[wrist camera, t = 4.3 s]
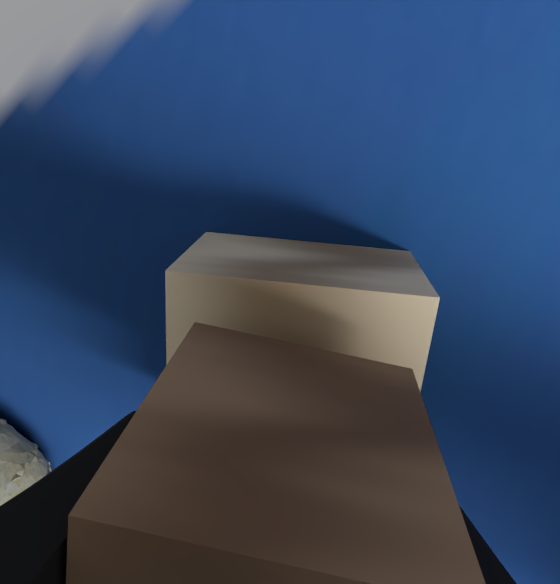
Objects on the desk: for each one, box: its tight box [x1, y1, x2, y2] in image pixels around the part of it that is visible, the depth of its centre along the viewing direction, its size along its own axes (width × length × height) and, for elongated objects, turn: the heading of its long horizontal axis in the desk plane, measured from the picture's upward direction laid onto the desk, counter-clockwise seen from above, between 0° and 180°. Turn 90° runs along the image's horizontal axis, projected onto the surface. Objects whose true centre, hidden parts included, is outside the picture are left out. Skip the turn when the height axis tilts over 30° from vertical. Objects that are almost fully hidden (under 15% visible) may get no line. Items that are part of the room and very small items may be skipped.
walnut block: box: [66, 322, 486, 584], centre depth 8 cm, size 4×4×5 cm
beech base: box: [165, 232, 440, 392], centre depth 13 cm, size 6×6×4 cm
